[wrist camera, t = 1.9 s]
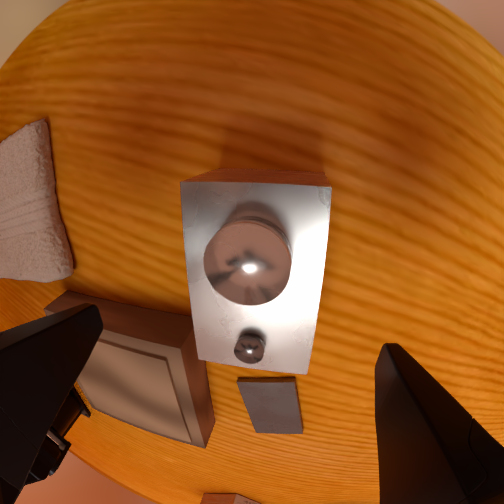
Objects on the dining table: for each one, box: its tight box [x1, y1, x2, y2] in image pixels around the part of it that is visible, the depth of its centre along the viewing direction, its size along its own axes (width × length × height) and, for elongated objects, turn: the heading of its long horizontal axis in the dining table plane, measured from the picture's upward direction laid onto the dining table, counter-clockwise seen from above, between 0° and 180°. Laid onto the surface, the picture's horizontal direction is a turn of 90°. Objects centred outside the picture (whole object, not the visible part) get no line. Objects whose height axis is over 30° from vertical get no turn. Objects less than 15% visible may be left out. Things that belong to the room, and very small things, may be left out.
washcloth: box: [0, 119, 74, 283], centre depth 17 cm, size 12×18×3 cm, turn 96°
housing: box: [180, 168, 332, 374], centre depth 12 cm, size 8×5×6 cm, turn 179°
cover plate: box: [237, 377, 303, 434], centre depth 19 cm, size 7×4×1 cm, turn 12°
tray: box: [44, 290, 215, 448], centre depth 19 cm, size 12×12×3 cm
